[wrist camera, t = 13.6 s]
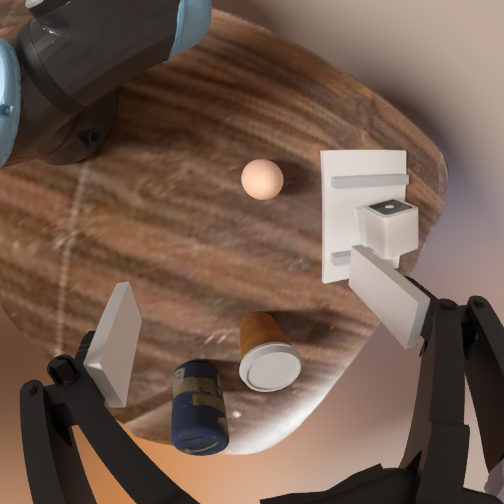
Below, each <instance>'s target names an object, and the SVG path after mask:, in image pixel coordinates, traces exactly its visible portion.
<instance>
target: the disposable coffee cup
mask: <svg viewBox="0 0 504 504" xmlns="http://www.w3.org/2000/svg"><path fill="white" fill-rule="evenodd" d="M240 344H241V364H240V368H239V374H240V377H241V379H242V380H243V381H244V382H245V383H246V384H247V386H248V387H250V388H251V389H253V390H256V391H261V392H270V391H275V390H279V389H282V388H284V387H286V386H288V385H289V384H291V383H292V382H293V381H294V380H295V379H296V378H297V376H298V375H299V373H300V369H301V356H300V353H299V352H298V351H297V350H296V349H295V348H294V347H292V346H291V344H290V343H289V341H288V340H287V338H286V337H285V335H284V334H283V333H282V331H281V330H280V328H279V327H278V325H277V324H276V322H275V321H274V319H273V317H272V316H271V315H269V314H268V313H265V312H255V313H251V314H249V315H248V316H246V317H245V318H244V319H243V320H242V322H241V324H240Z"/></svg>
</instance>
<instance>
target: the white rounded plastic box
mask: <svg viewBox="0 0 504 504" xmlns="http://www.w3.org/2000/svg"><path fill="white" fill-rule="evenodd" d="M354 218H355V228H356V238H357V240H359V241H360V242H363V241H366V243H367V246H369V247H370V248H371V249H373V250H374V251H375V252H377V253H378V254H379V255H381V256H382V257H383V258H385V259H391V258H394V257H397V256H399V255H402V254H405V253H407V252H410V251H413V250H415V249H417V248H418V207H416V206H414V205H411V204H409V203H407V202H404V201H402V200H399V199H397V198H392V199H388V200H384V201H380V202H377V203H373V204H369V205H366V206H362V207H358V208H355V209H354Z"/></svg>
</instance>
